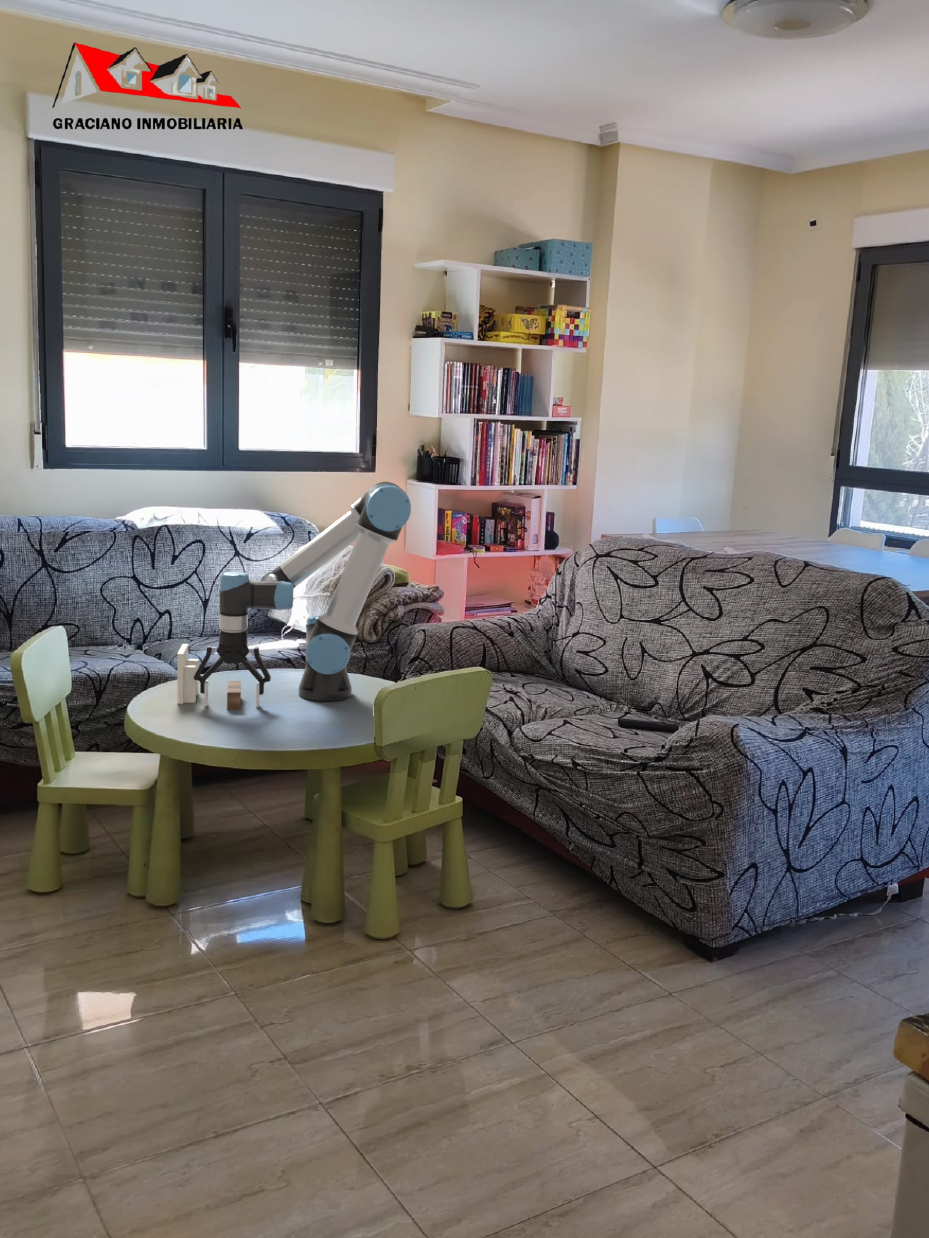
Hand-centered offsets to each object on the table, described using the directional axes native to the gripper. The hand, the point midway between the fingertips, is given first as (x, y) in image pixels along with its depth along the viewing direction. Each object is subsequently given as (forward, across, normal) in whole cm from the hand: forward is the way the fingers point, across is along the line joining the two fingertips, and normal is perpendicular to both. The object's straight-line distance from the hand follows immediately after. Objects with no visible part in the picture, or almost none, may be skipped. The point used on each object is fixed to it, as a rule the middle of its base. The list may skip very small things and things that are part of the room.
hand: (231, 705), depth 297 cm
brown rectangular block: (0, 0, -2) cm, 3 cm away
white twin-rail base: (0, +12, -8) cm, 14 cm away
